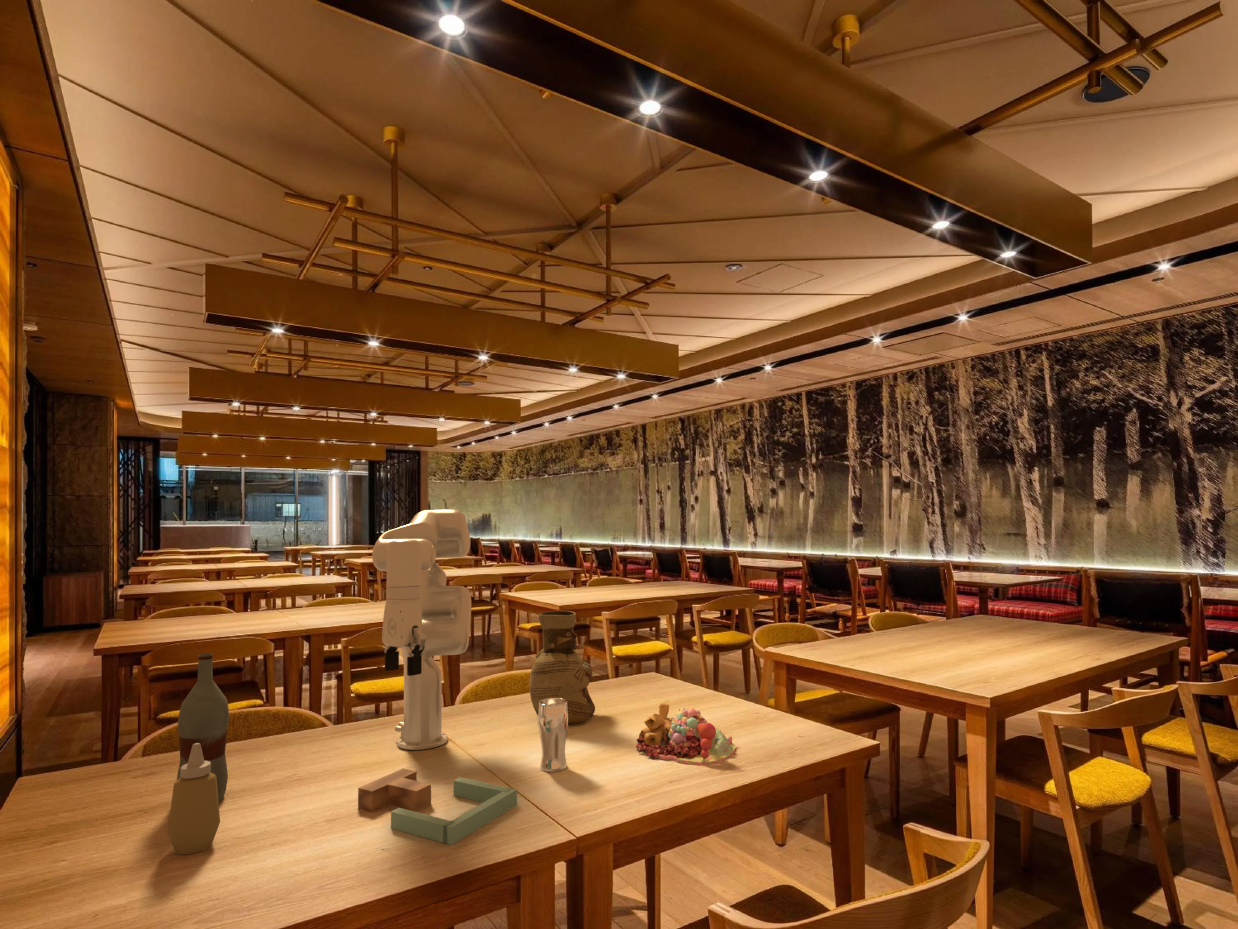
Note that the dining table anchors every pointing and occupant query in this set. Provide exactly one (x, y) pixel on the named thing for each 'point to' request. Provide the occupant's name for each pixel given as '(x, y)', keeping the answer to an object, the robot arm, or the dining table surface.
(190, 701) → the vodka
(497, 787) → the frame
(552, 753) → the beer glass
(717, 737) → the pastel sphere sculpture
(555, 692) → the ceramic vessel
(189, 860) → the dining table surface
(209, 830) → the squeeze bottle
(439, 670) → the robot arm
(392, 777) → the t block
